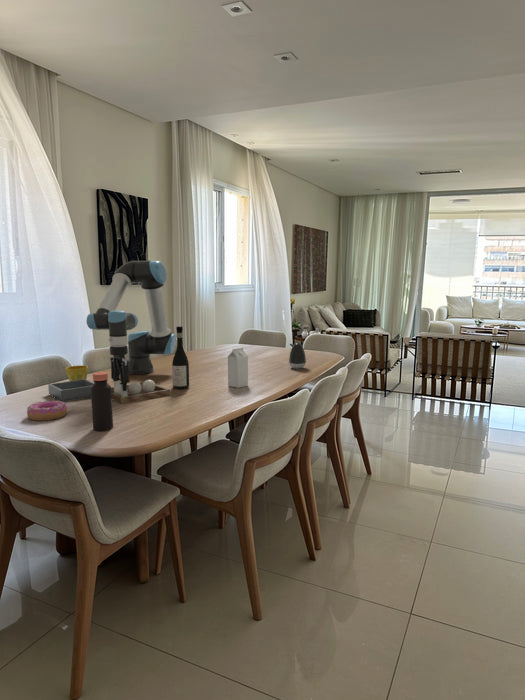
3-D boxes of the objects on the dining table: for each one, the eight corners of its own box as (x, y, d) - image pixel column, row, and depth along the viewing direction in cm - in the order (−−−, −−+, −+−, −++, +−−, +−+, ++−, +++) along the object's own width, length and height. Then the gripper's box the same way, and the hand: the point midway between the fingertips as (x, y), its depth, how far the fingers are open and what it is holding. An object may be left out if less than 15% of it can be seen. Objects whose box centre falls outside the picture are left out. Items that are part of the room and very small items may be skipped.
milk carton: (228, 386, 235) (227, 348, 232) (238, 383, 240) (237, 346, 237) (237, 388, 230) (237, 349, 227) (248, 385, 235) (248, 348, 232)
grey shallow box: (85, 389, 229) (85, 379, 228) (99, 395, 216) (99, 384, 215) (48, 394, 218) (48, 384, 217) (61, 401, 205) (60, 390, 204)
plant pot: (62, 387, 232) (61, 367, 231) (79, 383, 242) (78, 364, 240) (77, 389, 228) (75, 369, 226) (93, 385, 237) (92, 366, 235)
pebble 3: (151, 390, 227) (151, 377, 226) (158, 392, 222) (157, 379, 221) (140, 392, 223) (139, 379, 222) (146, 394, 218) (145, 381, 217)
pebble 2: (138, 392, 222) (137, 379, 221) (144, 394, 217) (143, 382, 217) (126, 394, 218) (125, 381, 217) (132, 396, 214) (131, 383, 213)
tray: (147, 386, 234) (147, 381, 233) (170, 394, 217) (169, 389, 217) (100, 394, 218) (100, 389, 218) (121, 403, 202) (121, 398, 202)
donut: (71, 418, 182) (70, 405, 181) (30, 424, 174) (29, 411, 173) (63, 409, 194) (63, 397, 193) (25, 415, 186) (24, 402, 185)
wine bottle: (185, 389, 227) (184, 327, 223) (170, 389, 229) (168, 327, 224) (191, 386, 235) (190, 326, 231) (176, 385, 237) (174, 325, 232)
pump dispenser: (294, 365, 289) (294, 341, 287) (309, 367, 283) (309, 342, 281) (285, 368, 281) (285, 343, 279) (300, 370, 275) (300, 344, 273)
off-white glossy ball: (124, 394, 217) (123, 382, 216) (130, 397, 213) (129, 384, 212) (111, 397, 213) (111, 384, 213) (117, 399, 209) (116, 386, 208)
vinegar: (96, 425, 172) (93, 371, 169) (115, 425, 172) (112, 371, 169) (90, 431, 165) (87, 375, 162) (110, 431, 165) (107, 375, 162)
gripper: (101, 344, 214) (104, 393, 218) (119, 348, 200) (122, 401, 204) (117, 342, 219) (119, 391, 223) (136, 347, 205) (138, 398, 209)
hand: (120, 396), depth 213 cm, fingers closed on off-white glossy ball, 6 cm apart
